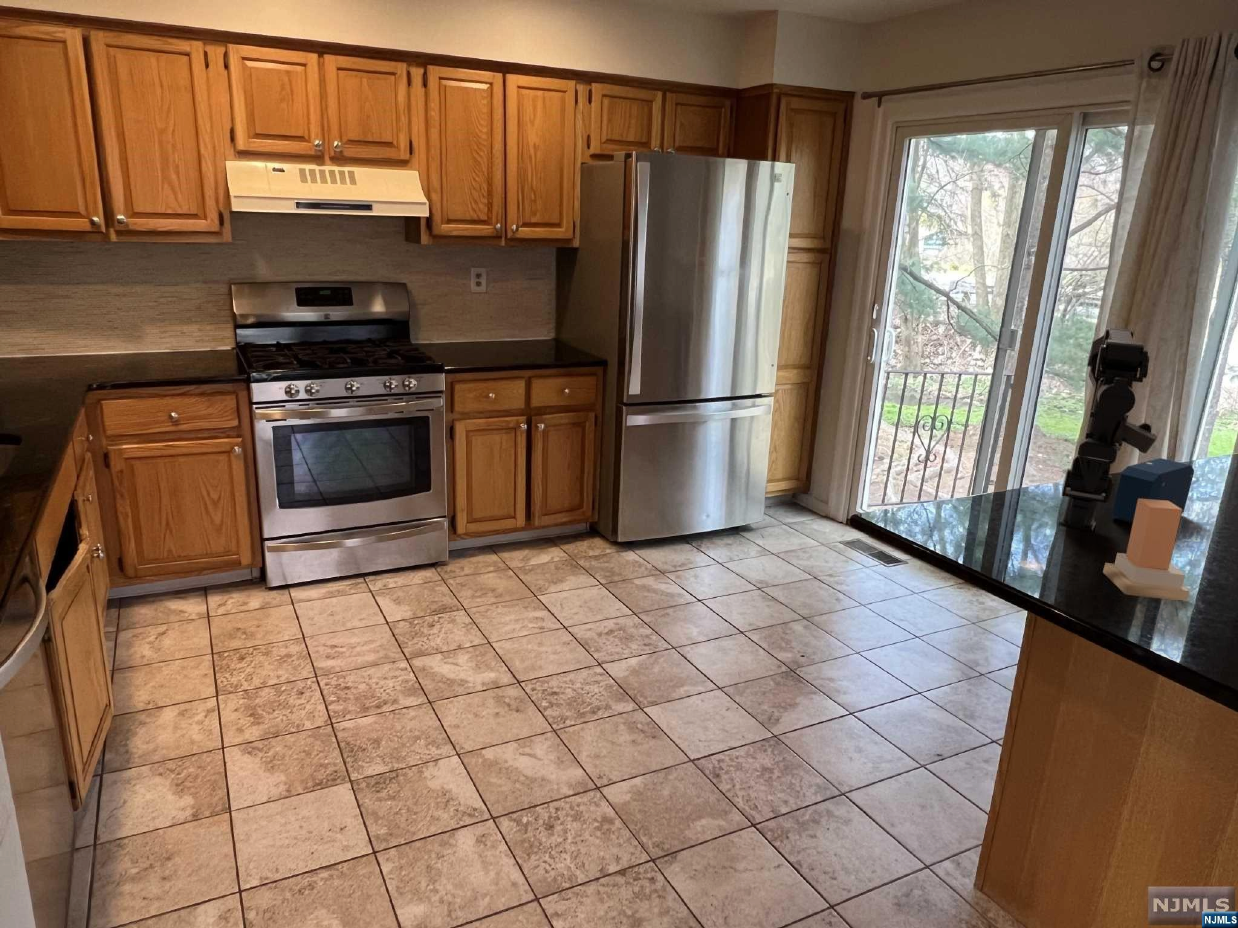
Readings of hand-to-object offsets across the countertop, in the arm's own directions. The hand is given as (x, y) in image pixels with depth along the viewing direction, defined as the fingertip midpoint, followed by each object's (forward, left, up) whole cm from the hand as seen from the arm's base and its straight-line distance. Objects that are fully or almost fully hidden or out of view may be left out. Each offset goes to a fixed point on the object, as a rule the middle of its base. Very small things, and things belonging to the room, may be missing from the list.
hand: (1092, 485), depth 165 cm
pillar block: (+14, +12, -9) cm, 20 cm away
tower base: (+14, +12, -14) cm, 23 cm away
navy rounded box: (-34, +10, -13) cm, 38 cm away
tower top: (+14, +12, -11) cm, 22 cm away
